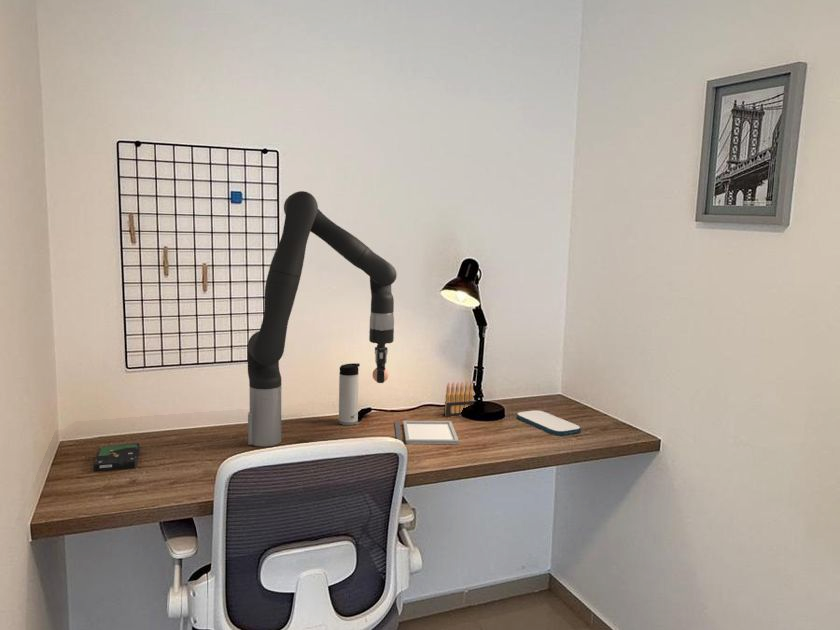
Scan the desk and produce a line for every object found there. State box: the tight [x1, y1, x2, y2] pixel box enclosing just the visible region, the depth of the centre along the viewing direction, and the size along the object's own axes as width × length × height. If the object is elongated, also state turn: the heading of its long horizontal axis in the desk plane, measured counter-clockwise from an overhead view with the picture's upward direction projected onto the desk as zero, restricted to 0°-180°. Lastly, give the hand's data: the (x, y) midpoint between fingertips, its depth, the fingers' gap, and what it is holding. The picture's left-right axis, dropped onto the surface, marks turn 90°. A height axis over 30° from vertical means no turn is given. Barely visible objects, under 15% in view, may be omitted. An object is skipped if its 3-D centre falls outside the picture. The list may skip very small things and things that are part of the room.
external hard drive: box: [516, 409, 582, 437], centre depth 225 cm, size 24×12×2 cm, turn 29°
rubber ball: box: [372, 367, 389, 383], centre depth 208 cm, size 5×5×5 cm
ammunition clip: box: [443, 381, 475, 418], centre depth 232 cm, size 11×2×12 cm, turn 111°
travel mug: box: [338, 362, 361, 426], centre depth 219 cm, size 6×7×20 cm
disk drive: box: [93, 442, 140, 473], centre depth 180 cm, size 10×3×15 cm
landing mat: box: [394, 420, 460, 445], centre depth 211 cm, size 19×22×1 cm
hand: (380, 380), depth 208 cm, fingers closed on rubber ball, 5 cm apart
